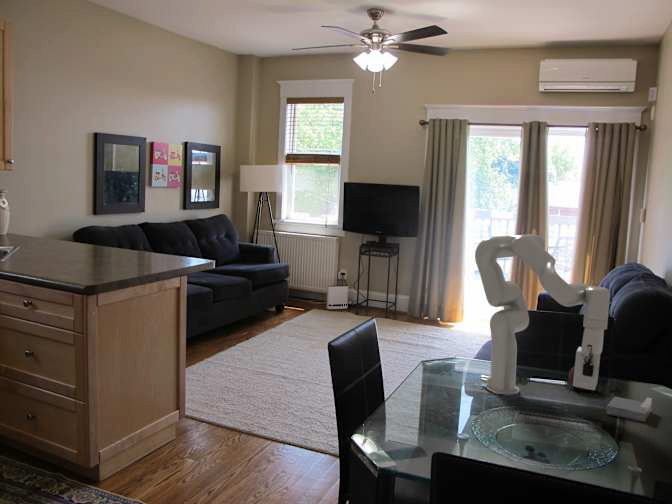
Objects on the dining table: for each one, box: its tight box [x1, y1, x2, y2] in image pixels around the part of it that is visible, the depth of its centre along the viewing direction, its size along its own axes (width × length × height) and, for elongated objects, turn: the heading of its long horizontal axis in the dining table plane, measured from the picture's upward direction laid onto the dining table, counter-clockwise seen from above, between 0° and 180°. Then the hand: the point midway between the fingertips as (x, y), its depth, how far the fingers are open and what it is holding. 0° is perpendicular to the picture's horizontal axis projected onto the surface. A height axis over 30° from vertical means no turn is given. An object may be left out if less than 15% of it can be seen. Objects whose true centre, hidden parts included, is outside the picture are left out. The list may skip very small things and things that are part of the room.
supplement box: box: [572, 346, 601, 391], centre depth 205 cm, size 7×7×13 cm
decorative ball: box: [568, 365, 589, 391], centre depth 233 cm, size 10×10×10 cm
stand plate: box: [605, 396, 652, 423], centre depth 208 cm, size 12×12×5 cm
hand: (590, 372), depth 205 cm, fingers closed on supplement box, 7 cm apart
